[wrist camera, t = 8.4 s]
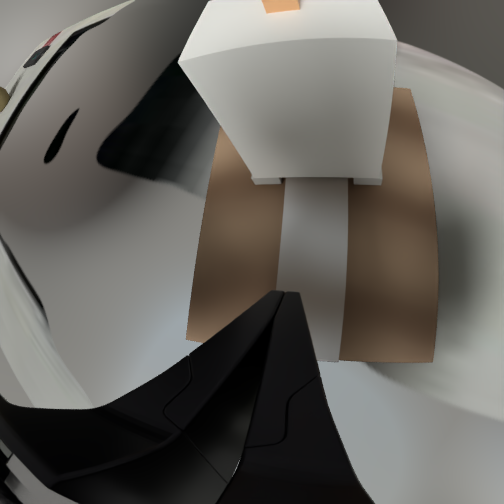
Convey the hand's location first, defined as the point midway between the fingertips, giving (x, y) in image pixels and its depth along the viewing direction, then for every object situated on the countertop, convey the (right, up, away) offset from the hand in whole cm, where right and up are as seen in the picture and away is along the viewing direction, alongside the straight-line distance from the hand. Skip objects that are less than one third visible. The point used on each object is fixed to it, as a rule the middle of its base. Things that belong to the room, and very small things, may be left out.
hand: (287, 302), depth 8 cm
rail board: (+3, +4, +9) cm, 10 cm away
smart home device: (-78, +71, +52) cm, 117 cm away
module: (+3, +8, +8) cm, 12 cm away
